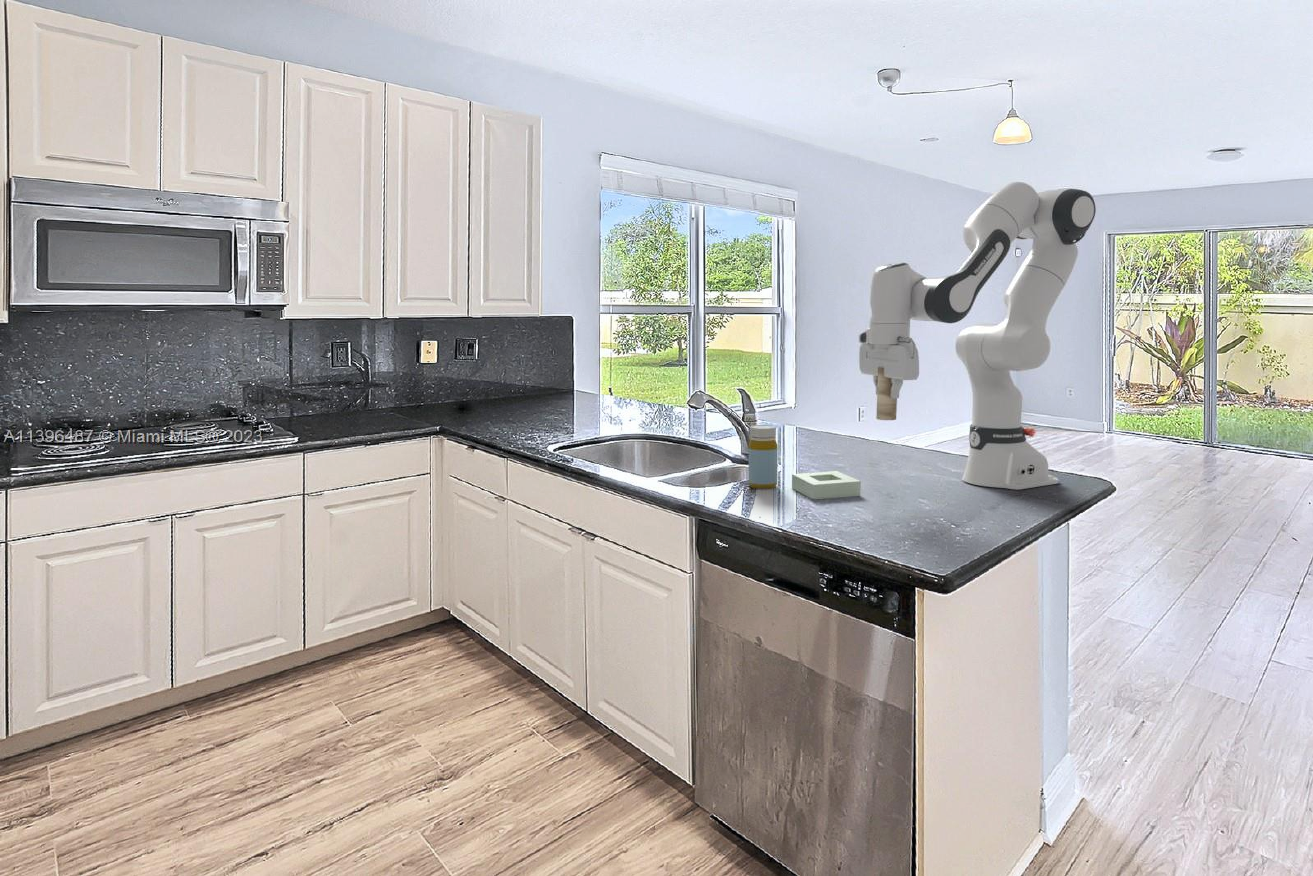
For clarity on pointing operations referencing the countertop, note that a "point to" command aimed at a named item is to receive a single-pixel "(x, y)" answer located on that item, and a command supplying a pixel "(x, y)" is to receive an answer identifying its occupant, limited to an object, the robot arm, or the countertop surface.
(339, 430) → the countertop surface
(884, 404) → the peg
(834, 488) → the socket
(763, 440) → the bottle
